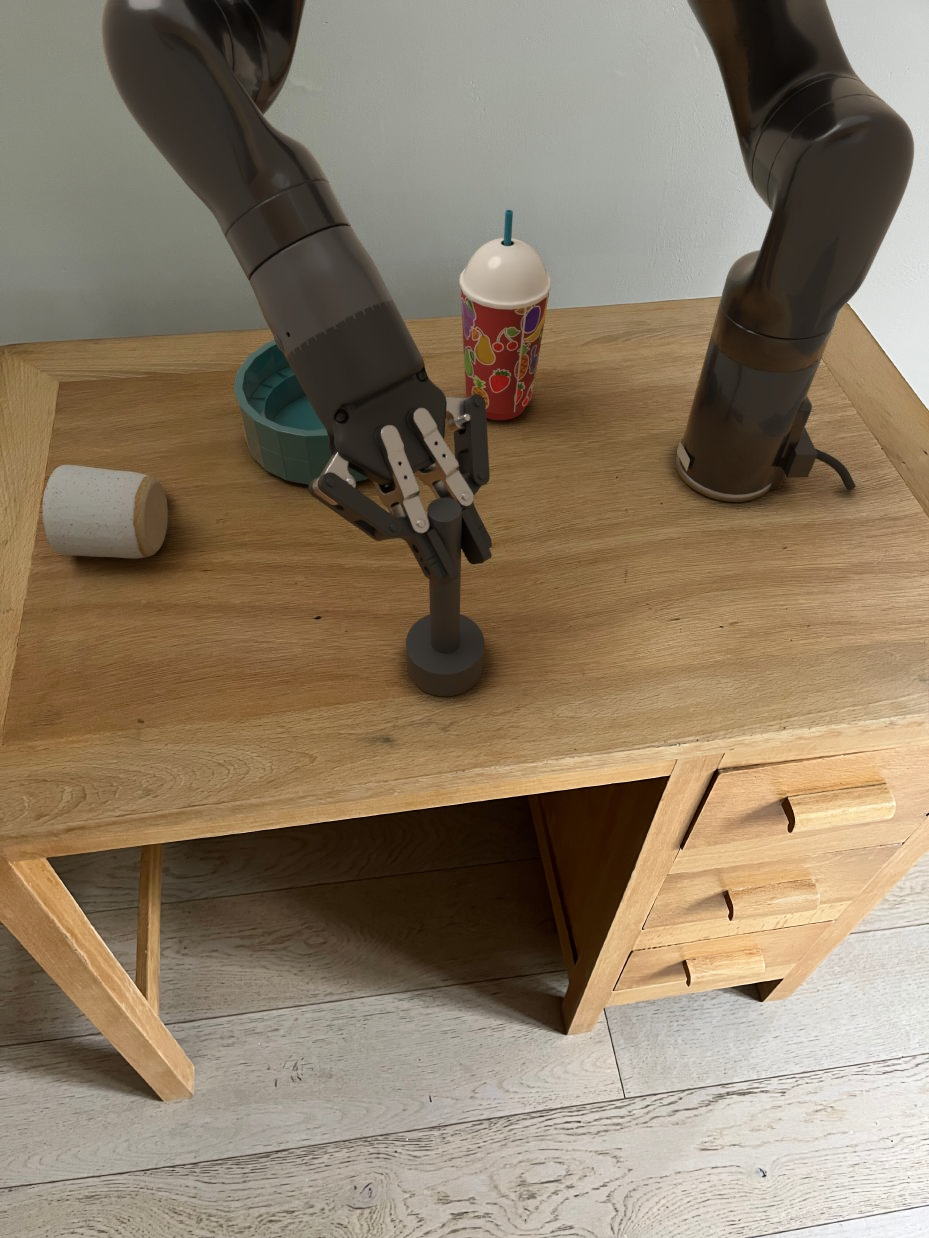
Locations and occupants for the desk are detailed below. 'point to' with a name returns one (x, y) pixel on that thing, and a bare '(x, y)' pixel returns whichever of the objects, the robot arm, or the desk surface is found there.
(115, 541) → the ceramic mug
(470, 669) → the rod on round base
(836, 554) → the desk surface
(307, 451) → the bowl
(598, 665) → the desk surface
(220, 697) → the desk surface
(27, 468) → the desk surface
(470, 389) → the smoothie
